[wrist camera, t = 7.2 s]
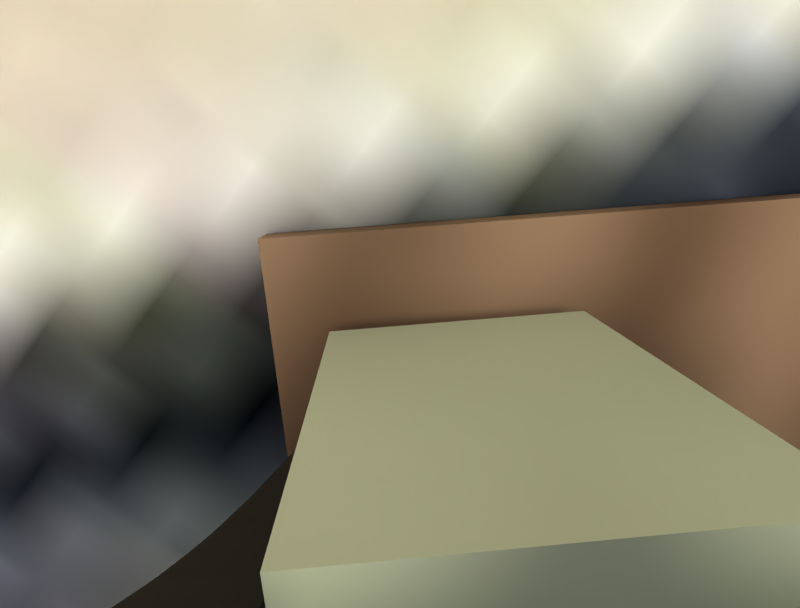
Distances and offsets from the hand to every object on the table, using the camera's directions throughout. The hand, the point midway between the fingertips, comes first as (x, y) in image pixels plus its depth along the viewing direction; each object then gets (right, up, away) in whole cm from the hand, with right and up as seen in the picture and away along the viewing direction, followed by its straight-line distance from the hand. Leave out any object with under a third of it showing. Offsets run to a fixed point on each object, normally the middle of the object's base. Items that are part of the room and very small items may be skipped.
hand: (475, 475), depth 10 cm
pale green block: (0, 0, +1) cm, 1 cm away
